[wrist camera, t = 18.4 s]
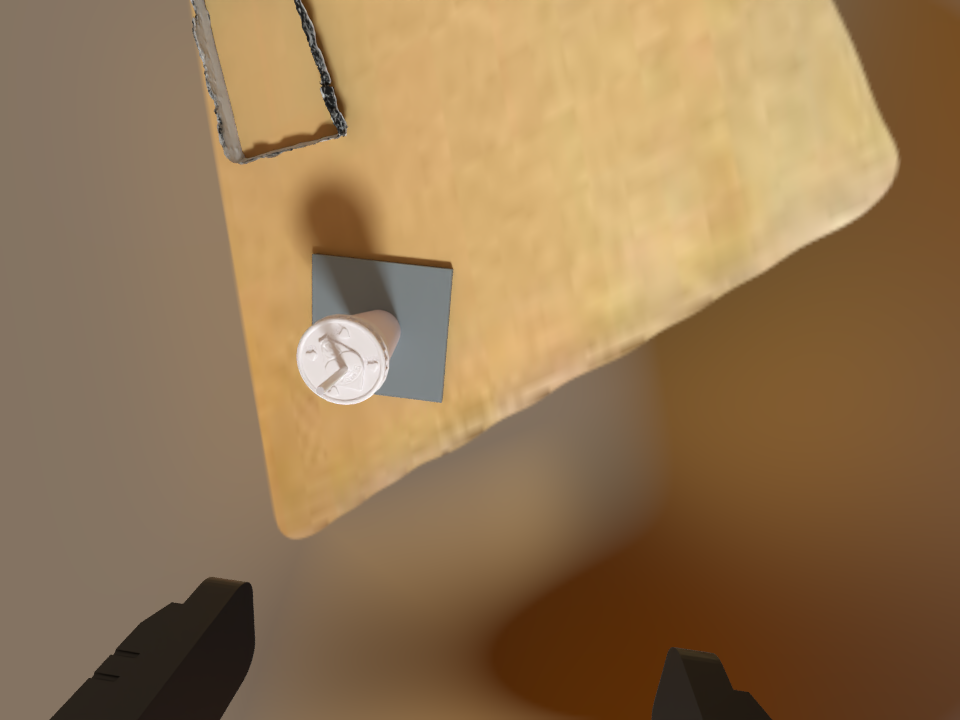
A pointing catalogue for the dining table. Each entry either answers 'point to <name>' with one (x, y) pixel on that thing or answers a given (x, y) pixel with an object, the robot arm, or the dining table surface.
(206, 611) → the robot arm
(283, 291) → the dining table surface
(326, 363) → the smoothie
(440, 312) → the mat
